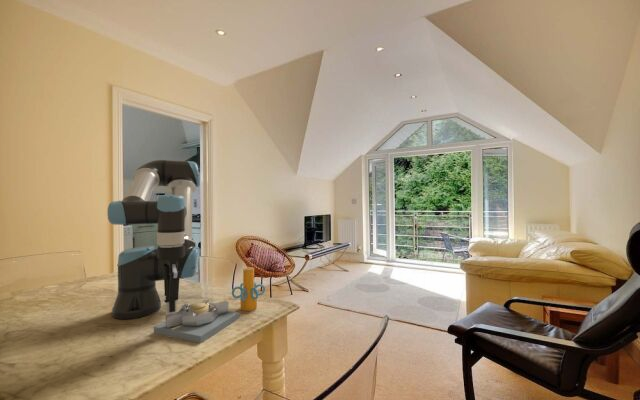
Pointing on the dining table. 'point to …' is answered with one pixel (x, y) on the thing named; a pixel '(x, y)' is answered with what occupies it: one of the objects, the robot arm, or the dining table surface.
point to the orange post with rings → (248, 290)
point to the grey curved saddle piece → (194, 319)
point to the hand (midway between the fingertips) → (171, 321)
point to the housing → (200, 331)
